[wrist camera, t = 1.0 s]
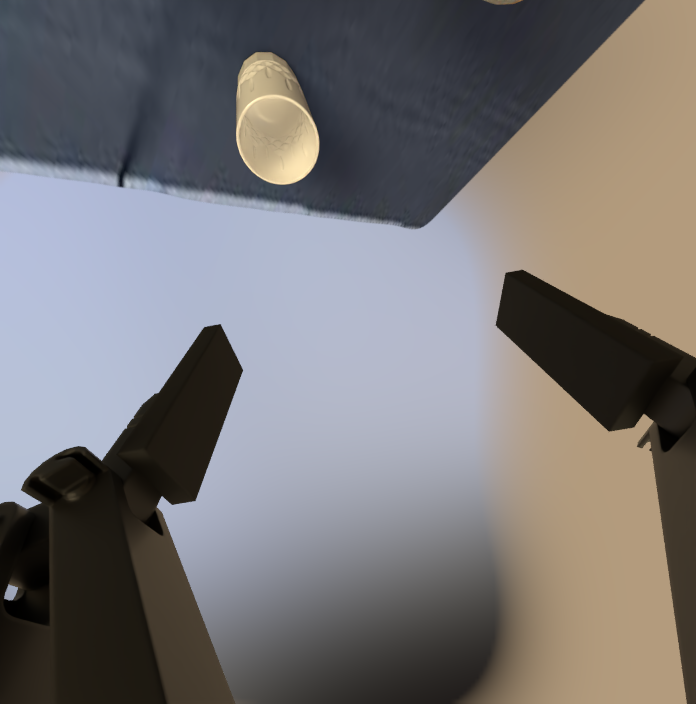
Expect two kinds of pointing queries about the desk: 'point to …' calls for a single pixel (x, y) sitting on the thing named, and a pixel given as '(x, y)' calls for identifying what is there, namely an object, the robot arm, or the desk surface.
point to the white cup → (274, 121)
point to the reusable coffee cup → (503, 1)
